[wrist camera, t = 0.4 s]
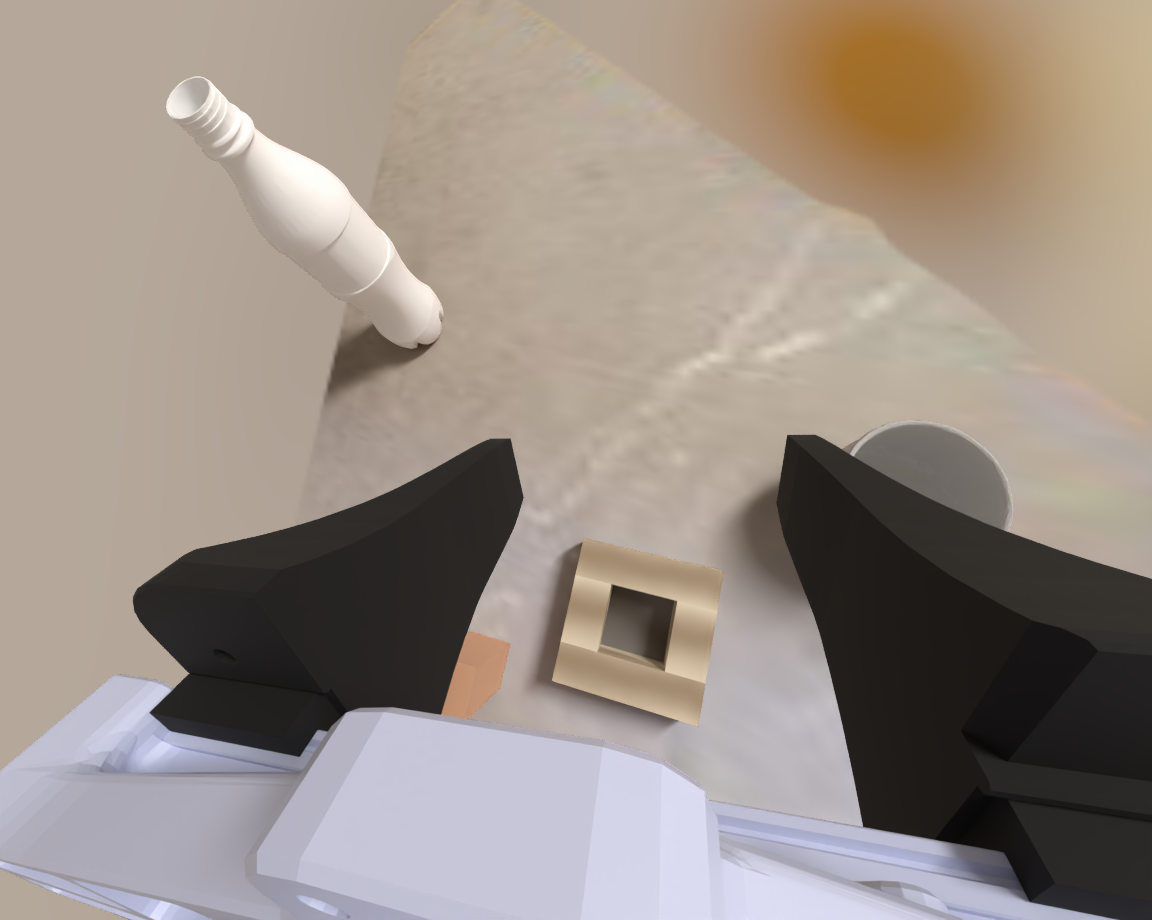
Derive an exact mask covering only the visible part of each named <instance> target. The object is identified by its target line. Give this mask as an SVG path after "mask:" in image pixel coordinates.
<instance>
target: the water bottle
mask: <svg viewBox="0 0 1152 920" xmlns="http://www.w3.org/2000/svg"><path fill="white" fill-rule="evenodd" d="M166 109H167V112H168V115H170V116H171V117H172V118H173V119H174V121H175V122H176V123H177V124H179V125H180V126H181V127H182V128H183V129H184V130H185V131H187V133H188V134H189V135H191V136H192V137H193V138H194V140H195V142H196V144H197V145H198V146H200V147H201V148H202V151H203V152H204V154H205V155H207V157H208V158H210V159H211V160H214V161H218V162H219V163H220V164H221V165H222V166H223V167H224V169H225V170H226V171H227V172H228V174H229V176H230V177H231V179H232V180H233V182H234V184H235V185H236V188H237V190H238V192H239V194H240V196H241V198H242V201H243V203H244V205H245V207H246V209H247V211H248V213H249V215H250V217H251V218H252V220H253V222H254V224H255V226H256V227H257V229H258V230H259V232H260V233H261V234H262V236H263V237H264V238H265V239H266V240H267V241H268V243H269V244H270V245H271V246H272V247H274V248H275V249H276V250H277V251H278V252H280V253H282V254H284V255H286V256H287V257H289V258H290V259H291V260H292V261H293V262H295V263H296V264H297V265H298V266H299V267H301V268H302V269H303V270H305V271H306V272H307V273H308V274H309V275H311V276H312V277H313V278H314V279H316V280H317V281H318V282H319V283H320V284H321V285H322V287H323V288H324V289H325V290H327V291H328V292H329V293H330V294H332V295H333V296H334V297H336V298H337V299H339V300H342V301H346V302H349V303H351V304H352V305H354V306H356V307H357V308H359V309H360V310H361V311H362V312H363V313H364V314H366V315H367V317H368V318H369V319H370V320H371V321H372V323H373V324H374V326H375V327H376V329H377V330H378V331H379V333H380V334H381V335H383V336H384V337H385V338H386V339H388V340H389V341H391V342H392V343H394V344H396V345H399V346H401V347H405V348H410V349H413V348H417V347H418V343H421V344H430V343H433V342H434V341H435V340H436V339H437V338H438V337H439V336H440V332H441V328H442V327H441V321H440V320H441V319H443V309H442V306H441V304H440V302H439V300H438V298H437V296H436V295H435V293H434V292H433V291H432V290H431V288H430V287H429V286H428V285H426V284H424V283H422V282H420V281H419V280H418V279H417V278H416V277H414V276H413V275H412V274H411V272H410V271H409V270H408V269H407V268H406V266H405V265H404V263H403V262H402V260H401V259H400V257H399V255H398V253H397V251H396V249H395V247H394V245H393V243H392V241H391V240H390V239H389V238H388V237H387V235H386V234H385V233H384V232H383V231H382V230H381V229H380V228H378V227H377V226H376V225H375V223H374V222H373V221H372V220H371V219H370V217H369V216H368V215H367V214H366V213H365V211H364V210H363V209H362V208H361V207H360V206H359V204H358V203H357V202H356V201H355V200H354V198H353V197H352V196H351V195H350V194H349V191H348V190H347V188H346V186H345V185H344V184H343V183H342V182H341V181H340V180H339V179H338V178H337V177H336V176H335V175H334V174H332V173H331V172H330V171H329V170H327V169H326V168H324V167H323V166H321V165H320V164H318V163H316V162H315V161H313V160H311V159H309V158H307V157H305V156H303V155H300V154H299V153H296V152H294V151H292V150H290V149H287V148H285V147H283V146H281V145H279V144H277V143H275V142H273V141H271V140H270V139H268V138H267V137H265V136H264V135H263V134H262V133H260V132H259V131H258V130H257V129H256V128H255V127H254V123H253V121H252V119H251V118H250V117H249V116H248V115H247V114H245V113H244V112H242V111H240V110H239V109H238V107H236V106H235V105H233V104H231V103H229V102H228V101H227V99H226V98H225V97H224V96H223V95H222V94H221V93H220V91H219V90H218V89H217V88H216V87H214V85H213V84H212V82H211V81H209V80H207V79H205V78H204V77H197V76H195V77H192V78H189V79H186V80H184V81H183V82H182V83H180V84H178V85H177V86H176V88H175V89H174V90H173V91H172V92H171V94H170V96H169V98H168V100H167V106H166Z"/></svg>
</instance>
